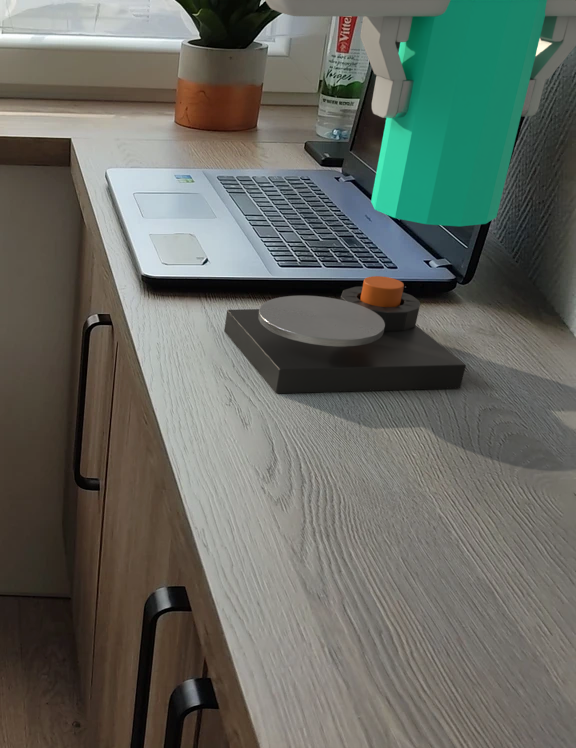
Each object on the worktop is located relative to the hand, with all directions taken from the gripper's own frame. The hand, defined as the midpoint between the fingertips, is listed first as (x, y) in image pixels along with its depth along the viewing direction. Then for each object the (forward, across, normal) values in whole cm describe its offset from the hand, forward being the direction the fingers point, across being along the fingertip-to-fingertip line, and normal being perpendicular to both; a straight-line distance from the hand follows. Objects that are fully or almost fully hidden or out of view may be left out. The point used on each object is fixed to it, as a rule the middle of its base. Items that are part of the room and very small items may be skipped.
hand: (451, 115), depth 53 cm
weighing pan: (+19, -5, -21) cm, 29 cm away
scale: (+23, -8, -22) cm, 33 cm away
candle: (+5, 0, 0) cm, 5 cm away
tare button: (+20, -12, -26) cm, 35 cm away
